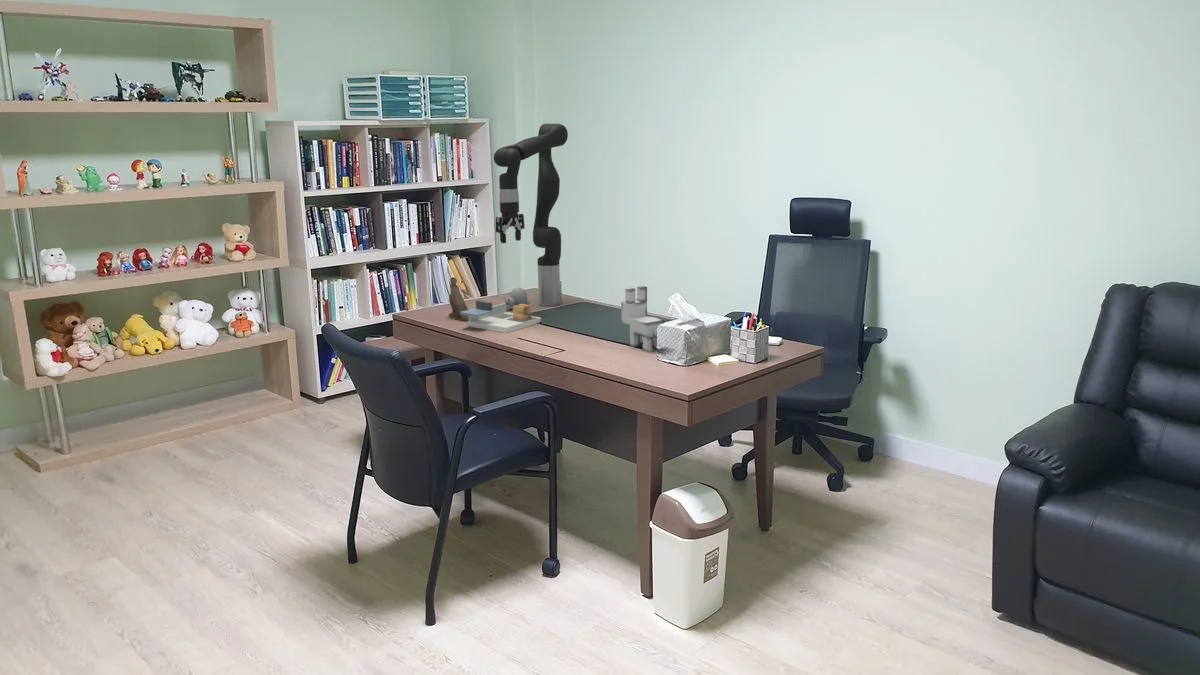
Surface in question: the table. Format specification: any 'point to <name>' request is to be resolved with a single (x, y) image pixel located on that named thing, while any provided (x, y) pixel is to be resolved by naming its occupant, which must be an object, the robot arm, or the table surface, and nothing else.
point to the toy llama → (639, 319)
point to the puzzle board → (501, 320)
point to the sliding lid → (480, 309)
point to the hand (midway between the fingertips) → (510, 241)
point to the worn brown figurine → (457, 302)
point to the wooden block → (522, 312)
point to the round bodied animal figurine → (516, 298)
